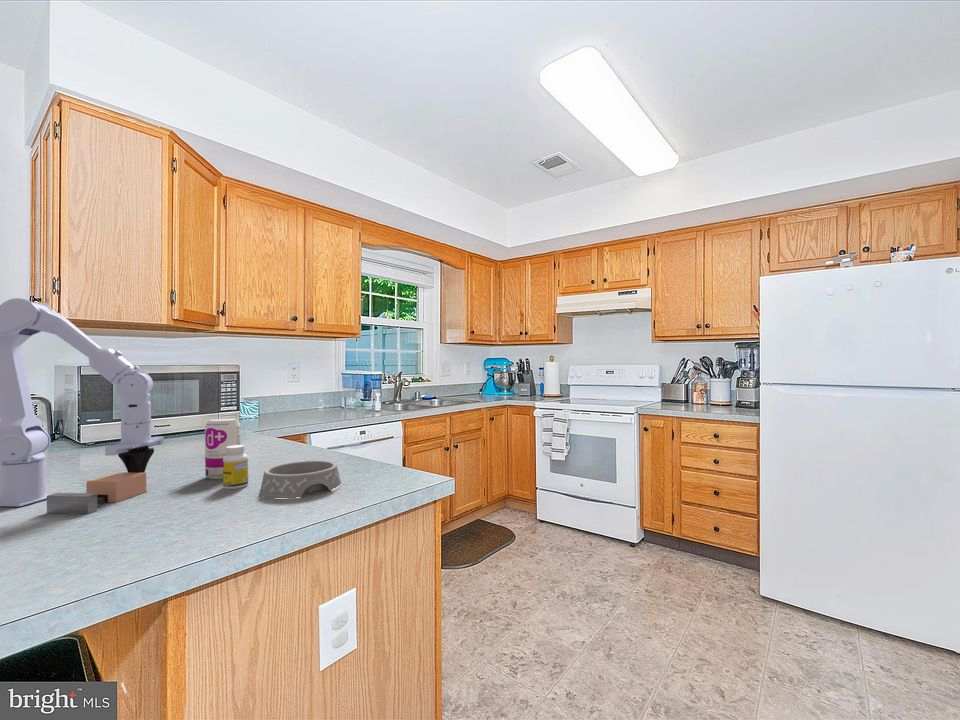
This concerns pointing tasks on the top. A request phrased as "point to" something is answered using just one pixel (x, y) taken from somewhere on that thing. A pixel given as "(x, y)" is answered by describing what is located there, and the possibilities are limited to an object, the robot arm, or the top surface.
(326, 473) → the dog bowl
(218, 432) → the supplement can
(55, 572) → the top surface
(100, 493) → the block
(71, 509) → the rail
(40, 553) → the top surface
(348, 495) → the top surface
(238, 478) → the supplement bottle
